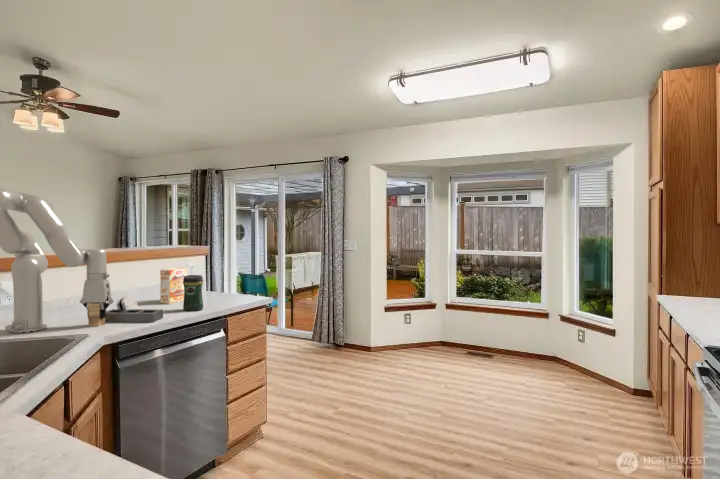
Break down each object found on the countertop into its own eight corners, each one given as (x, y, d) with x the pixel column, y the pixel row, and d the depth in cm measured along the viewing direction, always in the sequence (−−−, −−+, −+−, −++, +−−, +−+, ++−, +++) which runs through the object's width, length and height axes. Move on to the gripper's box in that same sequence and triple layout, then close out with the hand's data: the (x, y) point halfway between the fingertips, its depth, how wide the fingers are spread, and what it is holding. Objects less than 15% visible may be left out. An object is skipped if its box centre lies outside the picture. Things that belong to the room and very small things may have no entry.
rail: (153, 322, 192) (153, 313, 192) (100, 322, 192) (100, 313, 192) (163, 317, 202) (163, 309, 202) (112, 317, 202) (112, 309, 202)
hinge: (131, 316, 204) (123, 297, 203) (121, 320, 203) (113, 301, 202) (142, 310, 220) (135, 292, 219) (133, 313, 219) (126, 295, 218)
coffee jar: (205, 308, 226) (205, 274, 226) (199, 311, 218) (199, 276, 218) (187, 308, 227) (187, 274, 226) (180, 311, 219) (180, 275, 218)
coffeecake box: (169, 304, 238) (169, 270, 237) (159, 303, 240) (159, 269, 240) (188, 300, 252) (188, 267, 252) (178, 299, 254) (178, 267, 254)
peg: (98, 326, 184) (98, 303, 183) (88, 326, 184) (88, 303, 183) (104, 324, 188) (104, 301, 188) (94, 324, 188) (94, 301, 188)
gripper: (120, 276, 189) (120, 316, 190) (82, 275, 189) (82, 316, 189) (111, 278, 182) (111, 319, 182) (71, 277, 181) (71, 319, 182)
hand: (96, 317), depth 186 cm, fingers closed on peg, 4 cm apart
